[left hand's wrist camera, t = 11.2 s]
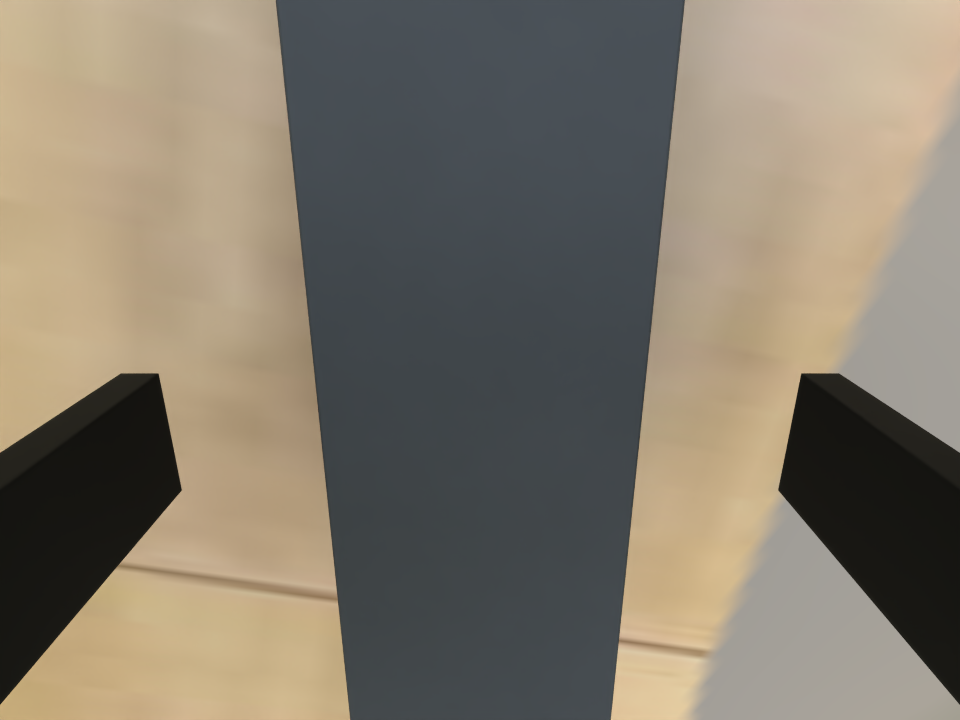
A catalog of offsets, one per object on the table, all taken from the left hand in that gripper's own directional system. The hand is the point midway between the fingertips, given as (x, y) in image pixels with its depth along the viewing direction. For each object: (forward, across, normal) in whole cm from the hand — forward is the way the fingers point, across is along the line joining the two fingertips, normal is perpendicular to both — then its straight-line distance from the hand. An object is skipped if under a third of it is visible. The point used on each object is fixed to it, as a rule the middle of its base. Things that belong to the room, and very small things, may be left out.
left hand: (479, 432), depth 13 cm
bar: (+5, 0, -30) cm, 30 cm away
